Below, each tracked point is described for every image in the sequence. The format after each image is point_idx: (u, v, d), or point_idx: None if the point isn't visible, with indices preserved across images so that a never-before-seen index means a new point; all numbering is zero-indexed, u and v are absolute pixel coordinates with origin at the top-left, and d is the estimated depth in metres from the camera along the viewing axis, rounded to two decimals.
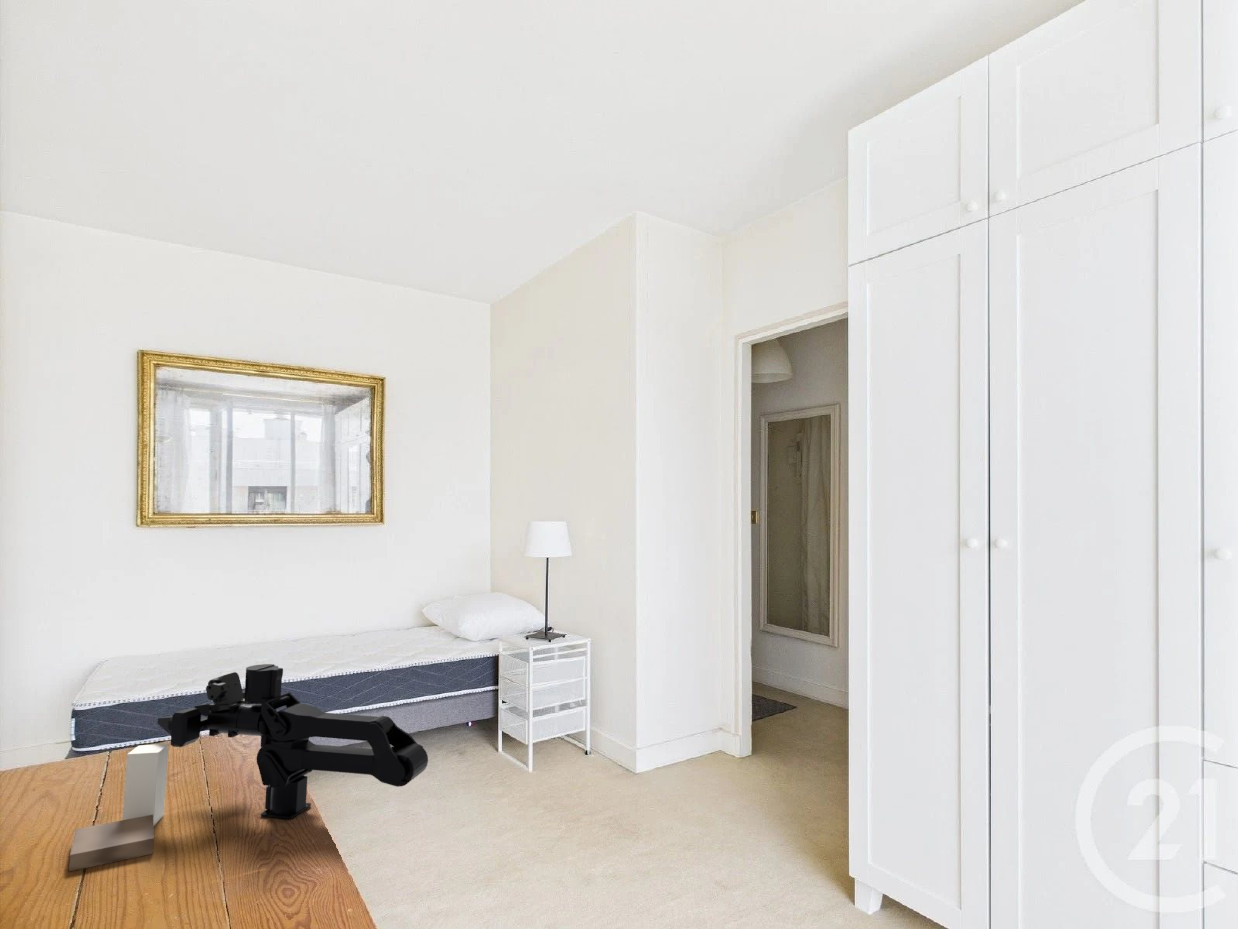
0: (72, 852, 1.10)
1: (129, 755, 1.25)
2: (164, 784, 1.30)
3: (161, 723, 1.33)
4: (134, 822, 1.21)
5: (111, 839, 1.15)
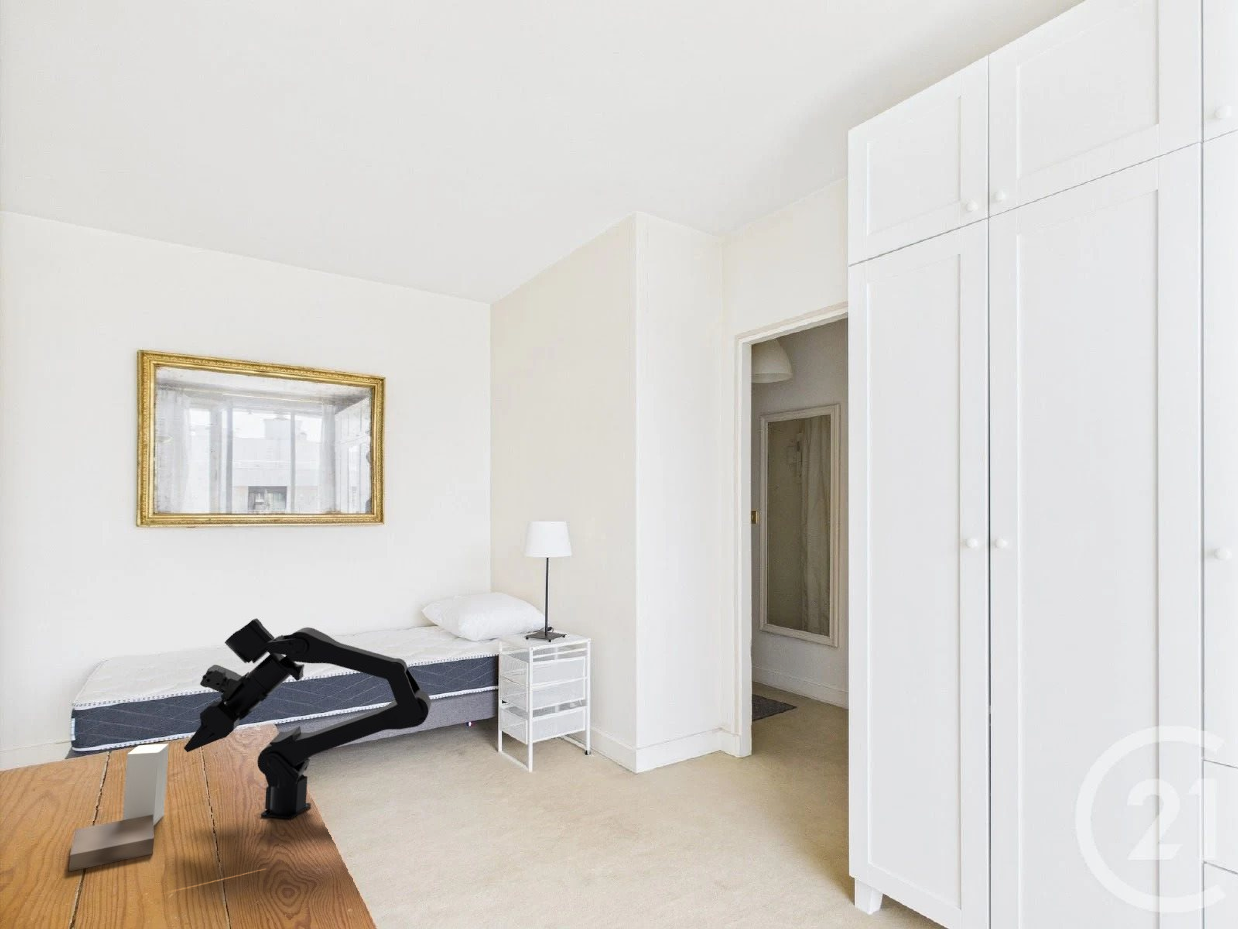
0: (72, 852, 1.10)
1: (129, 755, 1.25)
2: (164, 784, 1.30)
3: (191, 746, 1.26)
4: (134, 822, 1.21)
5: (111, 839, 1.15)
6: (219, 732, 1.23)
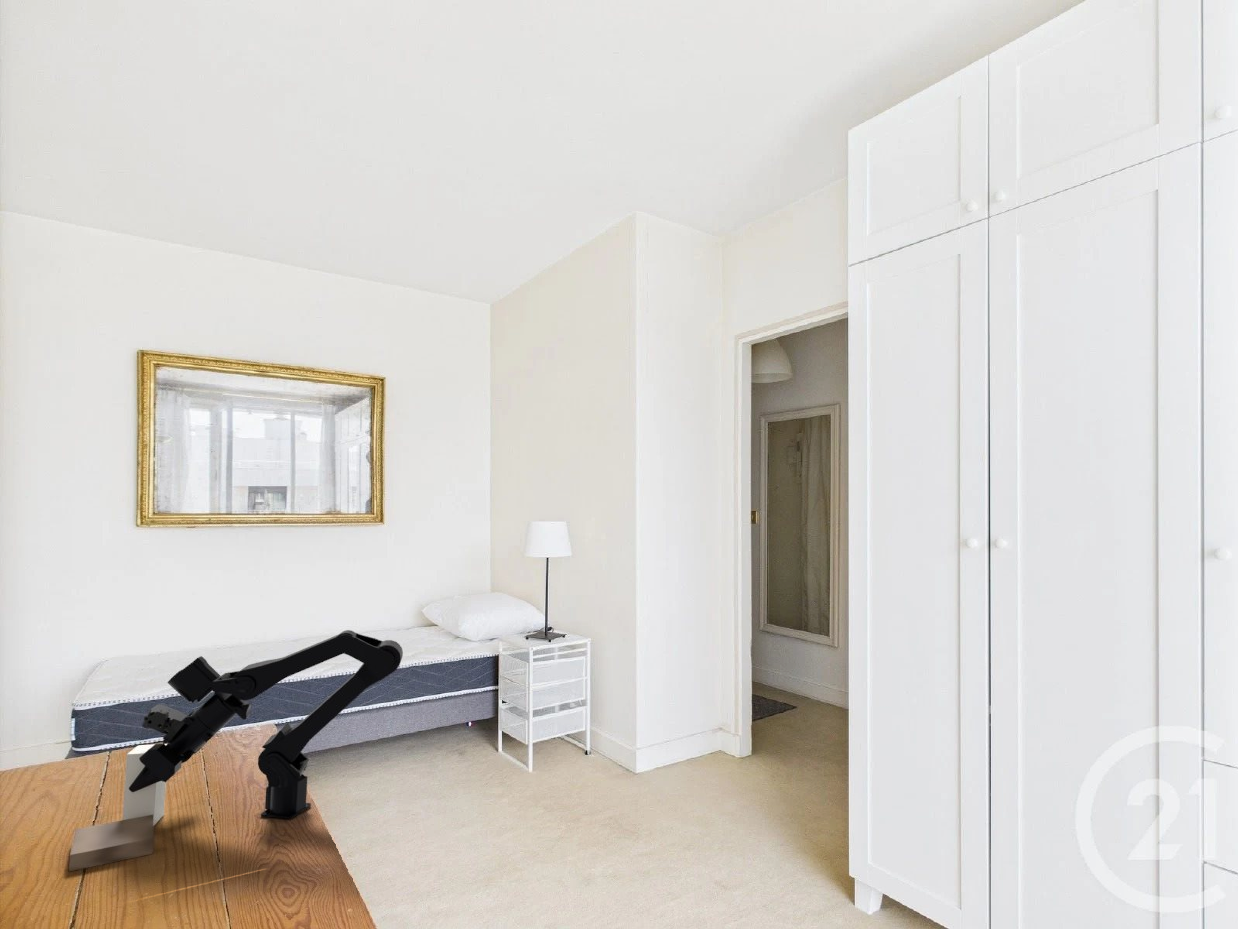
0: (72, 852, 1.10)
1: (129, 755, 1.25)
2: (164, 784, 1.30)
3: (136, 787, 1.24)
4: (134, 822, 1.21)
5: (111, 839, 1.15)
6: (159, 776, 1.20)
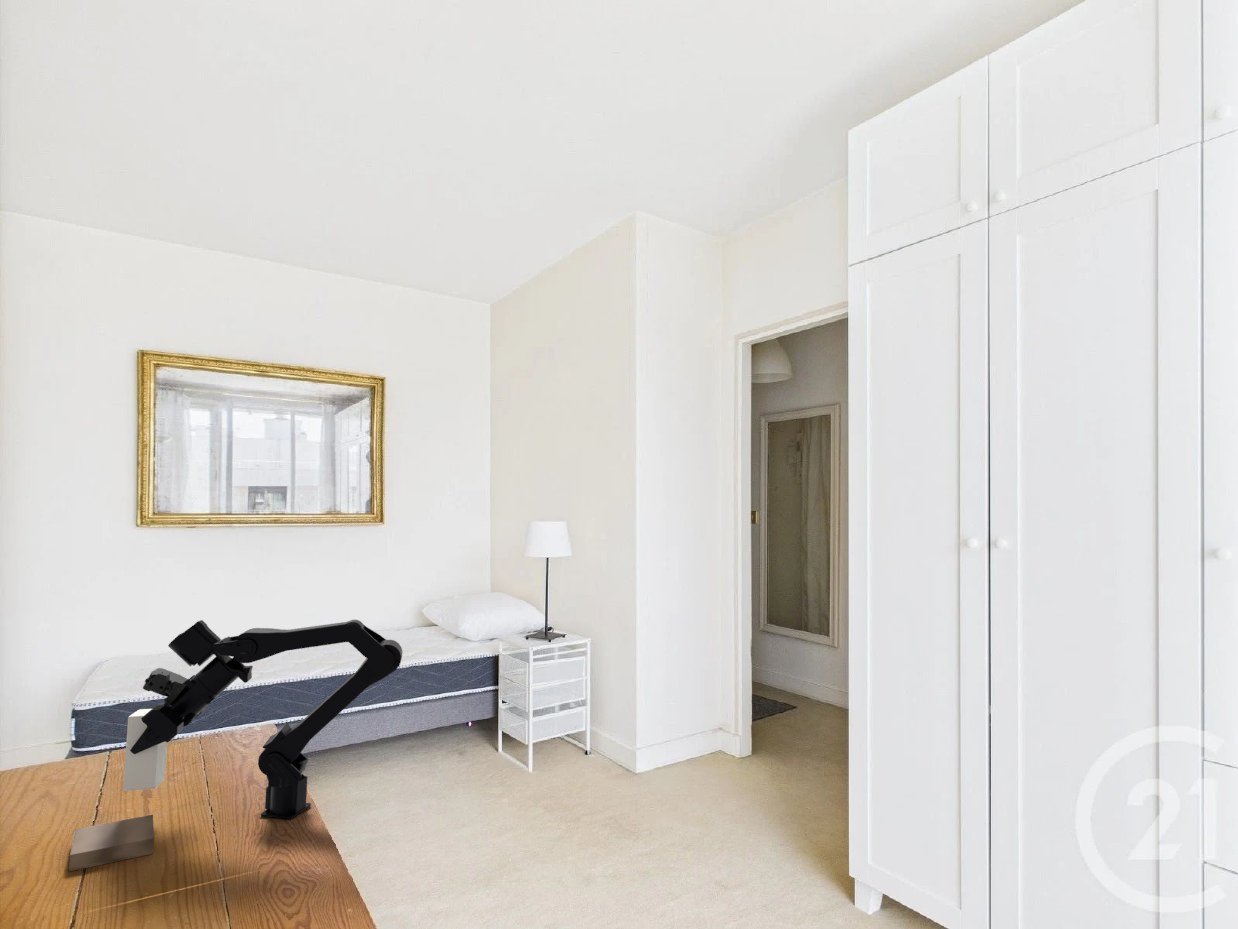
0: (72, 852, 1.10)
1: (130, 717, 1.25)
2: (165, 748, 1.30)
3: (138, 748, 1.25)
4: (134, 822, 1.21)
5: (111, 839, 1.15)
6: (162, 736, 1.20)
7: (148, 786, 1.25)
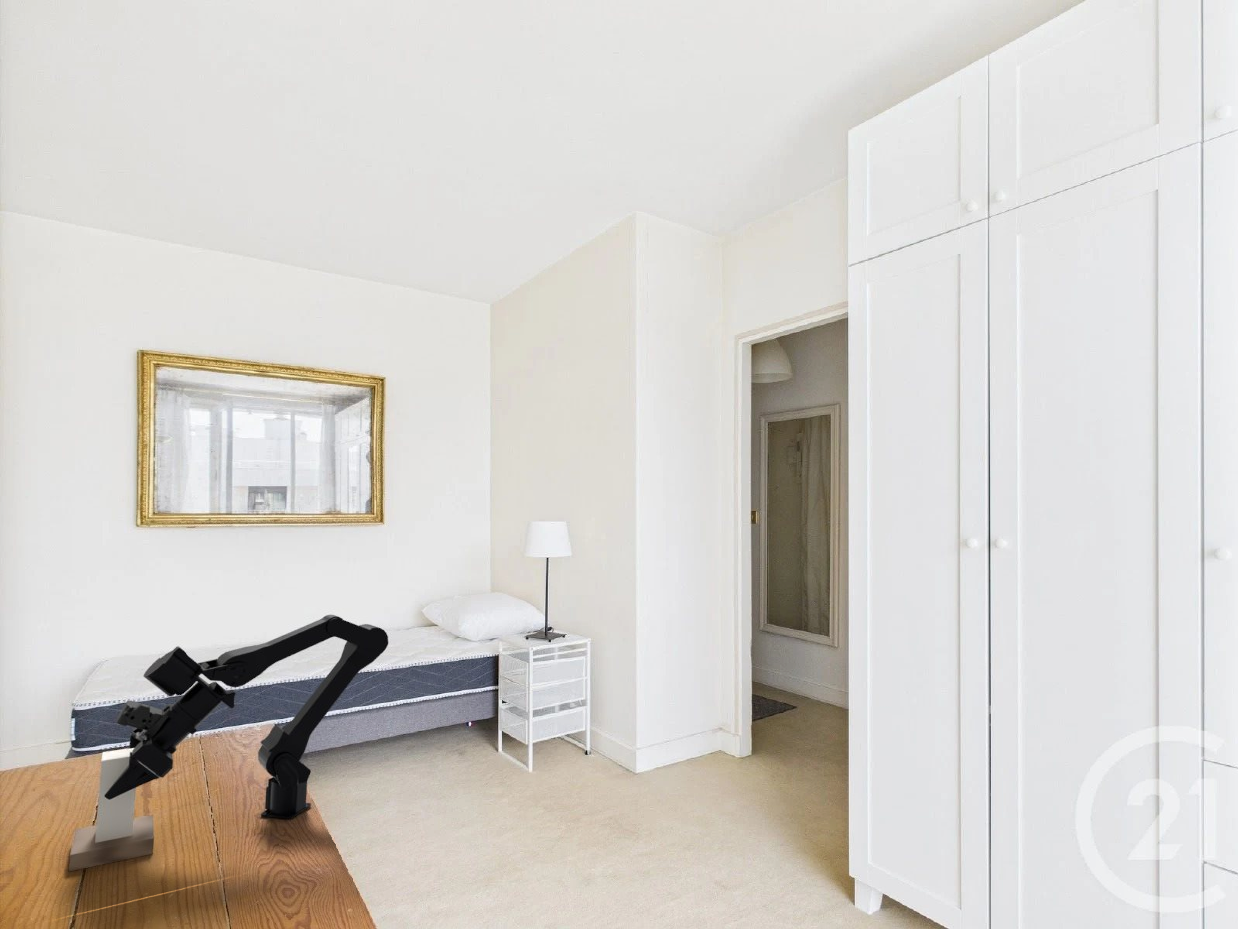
0: (72, 852, 1.10)
1: (104, 761, 1.15)
2: None
3: (114, 793, 1.13)
4: (134, 822, 1.21)
5: None
6: (157, 772, 1.13)
7: (125, 834, 1.16)
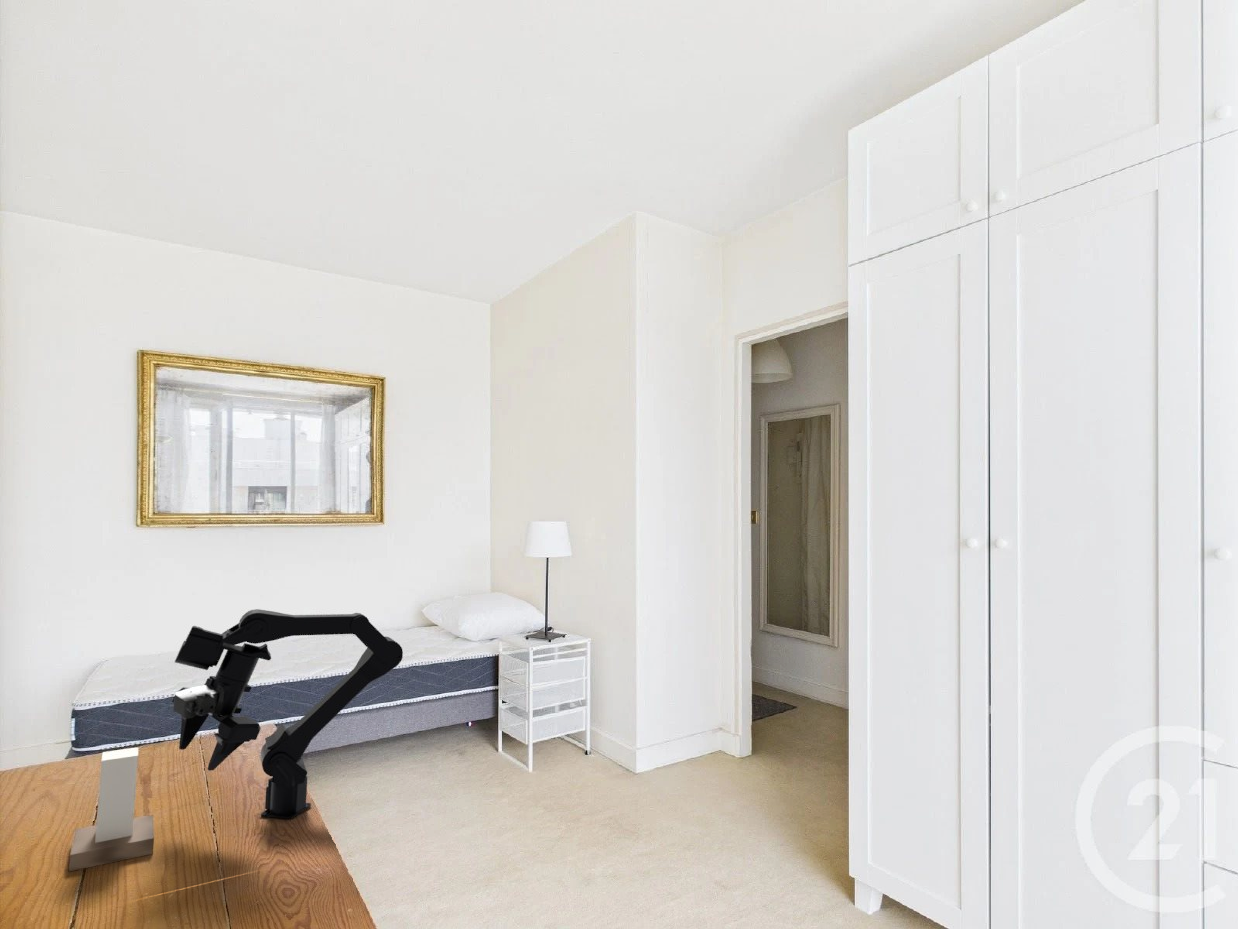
0: (72, 852, 1.10)
1: (104, 761, 1.15)
2: None
3: (216, 764, 1.25)
4: (134, 822, 1.21)
5: None
6: (252, 738, 1.26)
7: (125, 834, 1.16)
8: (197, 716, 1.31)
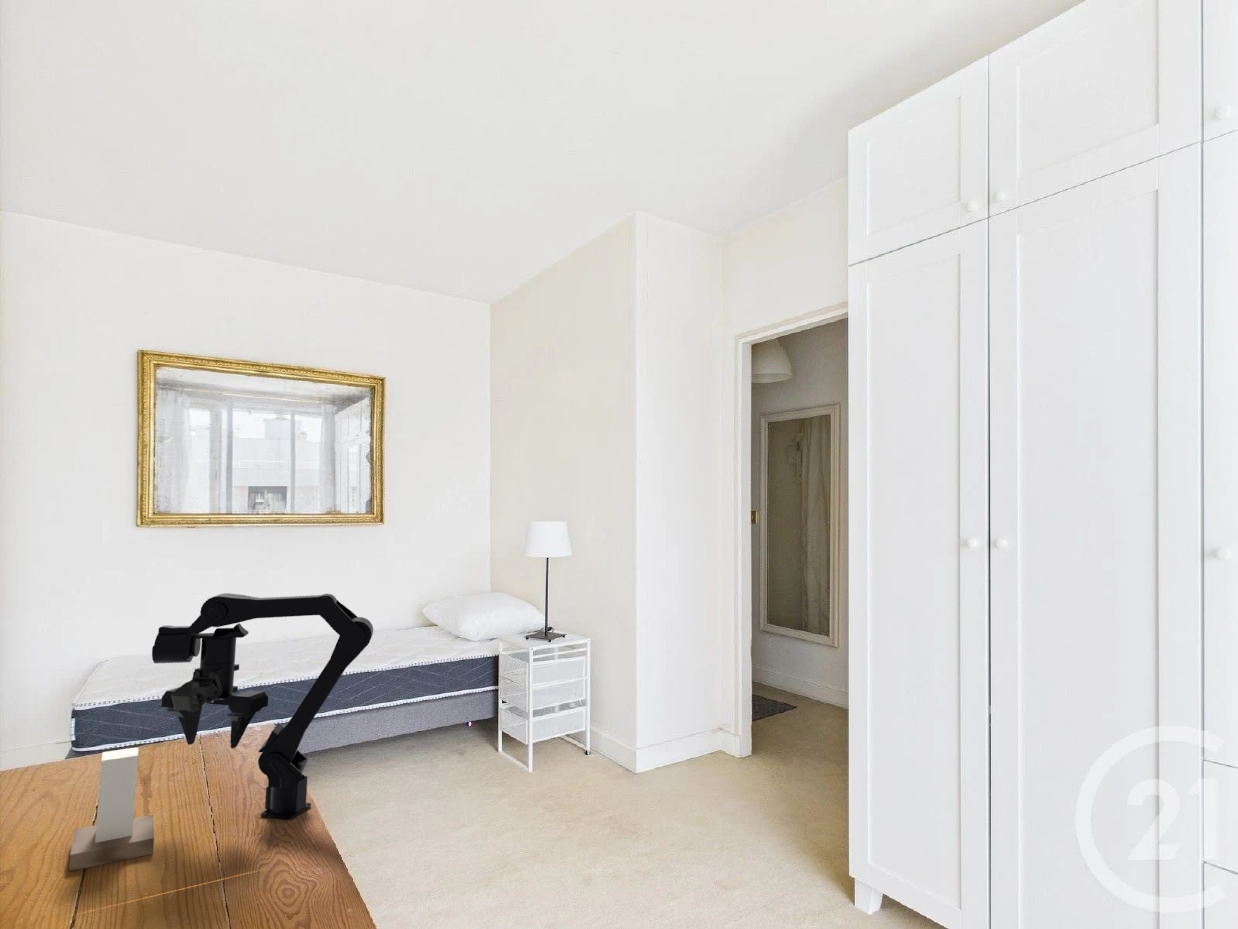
0: (72, 852, 1.10)
1: (104, 761, 1.15)
2: None
3: (237, 740, 1.30)
4: (134, 822, 1.21)
5: None
6: (264, 705, 1.31)
7: (125, 834, 1.16)
8: None
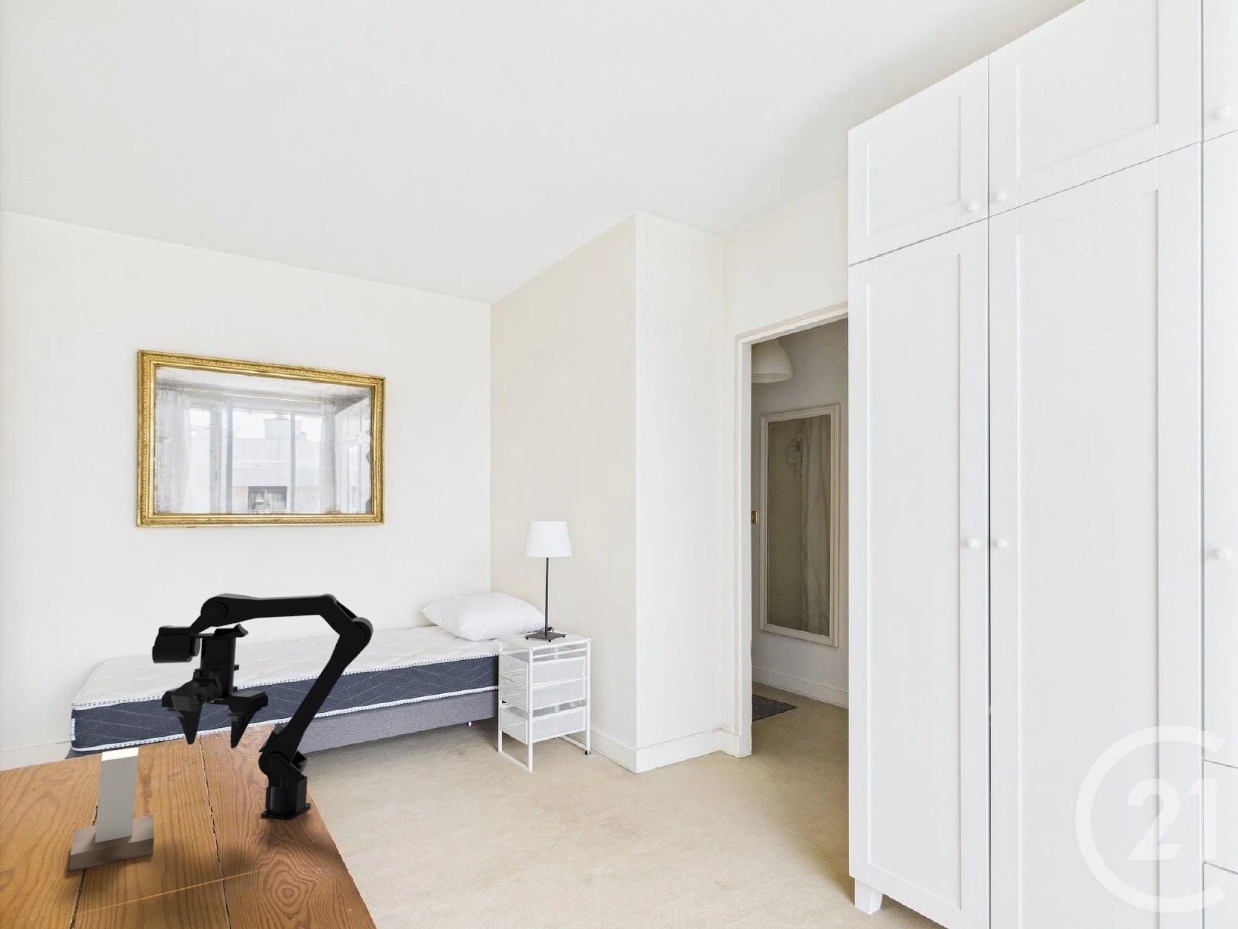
0: (72, 852, 1.10)
1: (104, 761, 1.15)
2: None
3: (237, 740, 1.30)
4: (134, 822, 1.21)
5: None
6: (264, 705, 1.31)
7: (125, 834, 1.16)
8: None
